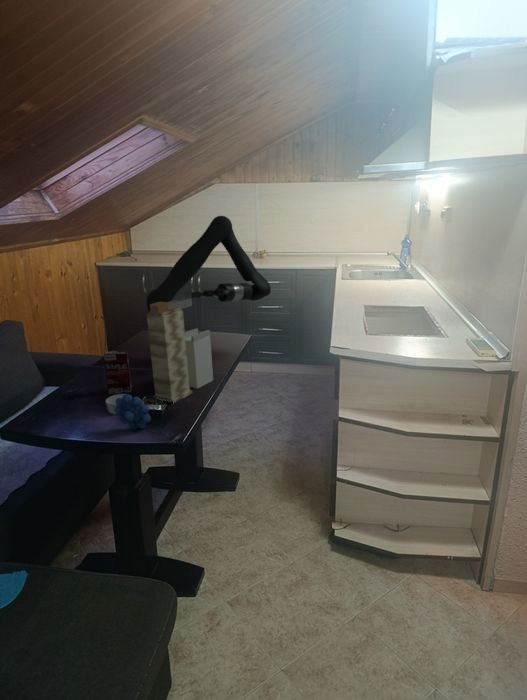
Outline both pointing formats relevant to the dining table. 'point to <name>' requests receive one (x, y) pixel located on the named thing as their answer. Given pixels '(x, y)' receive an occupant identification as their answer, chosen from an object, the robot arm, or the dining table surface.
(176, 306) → the block
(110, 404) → the ramekin
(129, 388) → the supplement box
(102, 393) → the dining table surface
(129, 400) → the grapes
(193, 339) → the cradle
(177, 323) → the stand
